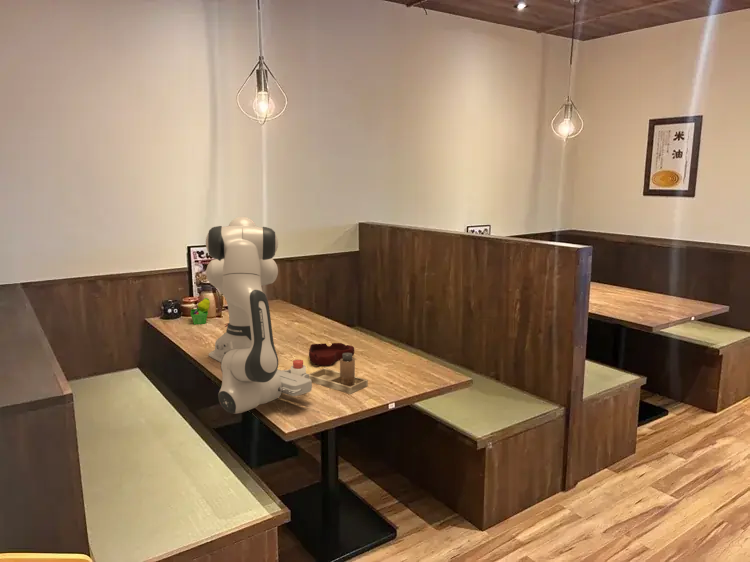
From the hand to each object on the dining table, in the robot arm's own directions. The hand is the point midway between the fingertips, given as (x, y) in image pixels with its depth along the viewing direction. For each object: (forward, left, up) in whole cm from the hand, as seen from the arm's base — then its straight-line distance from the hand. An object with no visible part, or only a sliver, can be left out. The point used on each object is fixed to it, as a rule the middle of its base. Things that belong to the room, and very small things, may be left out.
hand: (300, 373), depth 185 cm
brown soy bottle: (+10, +12, -6) cm, 16 cm away
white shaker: (0, -1, -7) cm, 7 cm away
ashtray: (-15, +30, -7) cm, 35 cm away
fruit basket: (-98, +35, -7) cm, 105 cm away
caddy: (+5, +12, -7) cm, 15 cm away
